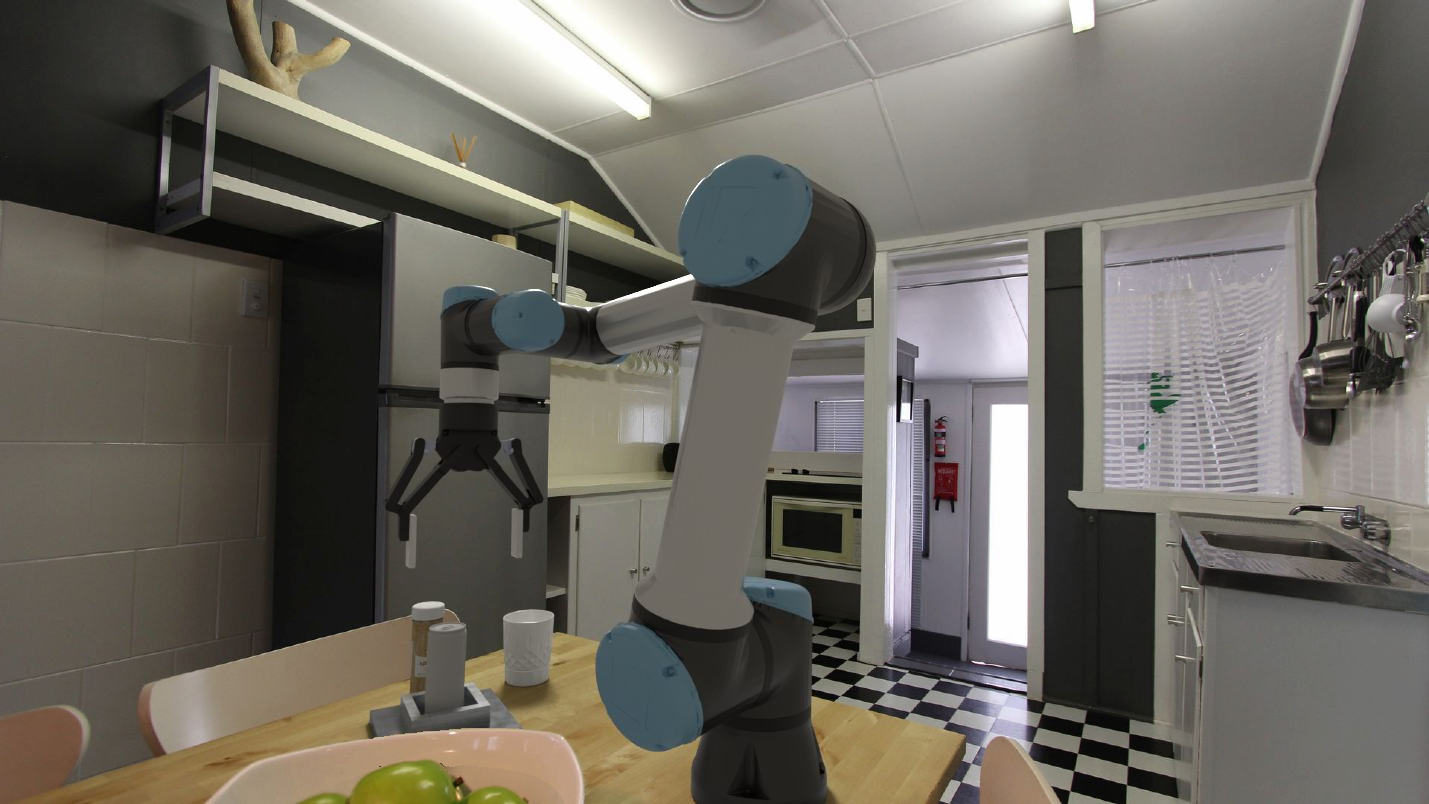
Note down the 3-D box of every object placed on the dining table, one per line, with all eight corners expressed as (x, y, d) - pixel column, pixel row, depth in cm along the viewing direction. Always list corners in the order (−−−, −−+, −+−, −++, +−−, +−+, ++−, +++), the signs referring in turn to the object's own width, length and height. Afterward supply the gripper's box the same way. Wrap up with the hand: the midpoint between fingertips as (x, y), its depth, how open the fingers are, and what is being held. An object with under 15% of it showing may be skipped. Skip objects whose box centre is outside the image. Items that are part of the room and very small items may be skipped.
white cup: (537, 667, 113) (539, 607, 113) (561, 680, 107) (563, 616, 107) (492, 678, 107) (494, 615, 108) (515, 692, 102) (517, 625, 102)
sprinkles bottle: (425, 703, 97) (428, 609, 98) (401, 698, 99) (404, 606, 99) (448, 692, 101) (451, 602, 102) (424, 687, 103) (428, 599, 104)
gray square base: (522, 740, 86) (523, 708, 86) (383, 773, 77) (385, 737, 77) (490, 698, 99) (491, 670, 99) (369, 721, 91) (370, 691, 91)
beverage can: (415, 721, 87) (420, 627, 88) (446, 709, 91) (450, 619, 92) (440, 730, 85) (444, 633, 86) (471, 716, 89) (474, 625, 90)
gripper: (549, 406, 101) (546, 549, 99) (362, 400, 87) (357, 566, 86) (567, 404, 94) (565, 556, 93) (369, 397, 81) (363, 576, 79)
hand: (465, 561), depth 89 cm, fingers open, 13 cm apart
